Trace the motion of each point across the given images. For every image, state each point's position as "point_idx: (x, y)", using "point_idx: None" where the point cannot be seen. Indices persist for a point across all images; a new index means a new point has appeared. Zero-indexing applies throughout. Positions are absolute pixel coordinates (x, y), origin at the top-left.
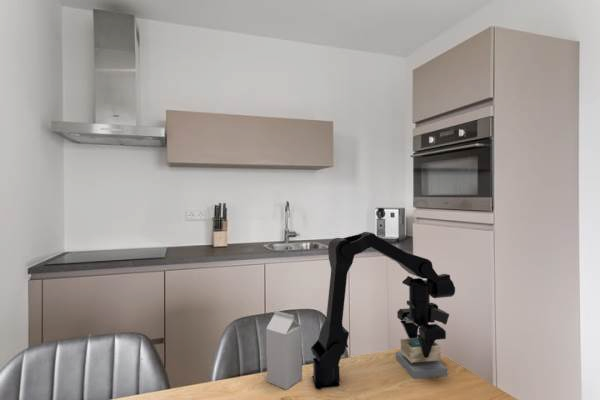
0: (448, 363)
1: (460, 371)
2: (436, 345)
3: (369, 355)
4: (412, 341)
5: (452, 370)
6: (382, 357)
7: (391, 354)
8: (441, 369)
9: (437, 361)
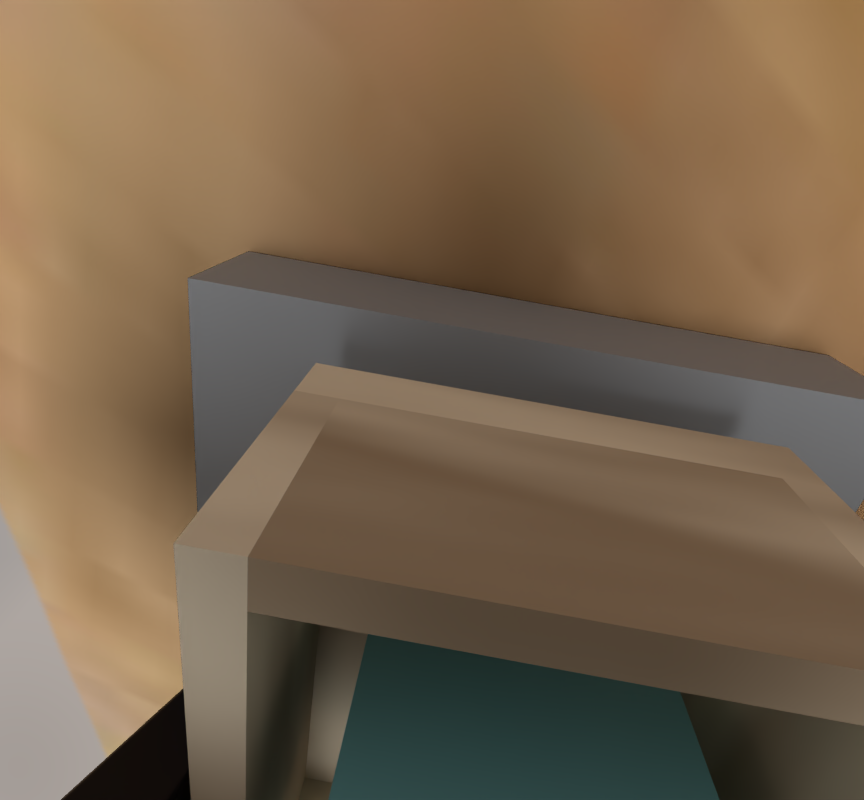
0: (526, 7)
1: (847, 10)
2: (857, 707)
3: (112, 724)
4: None
5: (740, 134)
6: (164, 665)
7: (105, 570)
8: (853, 490)
9: (648, 393)
